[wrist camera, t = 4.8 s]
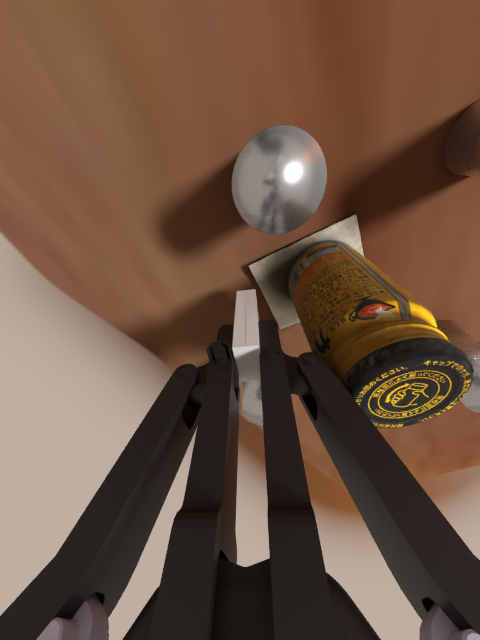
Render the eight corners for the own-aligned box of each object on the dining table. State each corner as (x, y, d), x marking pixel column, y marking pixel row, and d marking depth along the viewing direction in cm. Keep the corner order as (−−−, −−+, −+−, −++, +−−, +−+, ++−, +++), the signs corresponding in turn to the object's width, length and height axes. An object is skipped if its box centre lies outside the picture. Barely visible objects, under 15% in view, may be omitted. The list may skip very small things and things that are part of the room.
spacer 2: (233, 144, 15) (223, 136, 9) (297, 132, 14) (329, 114, 9) (242, 212, 17) (239, 239, 11) (298, 203, 17) (324, 227, 11)
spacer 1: (241, 340, 24) (238, 398, 18) (280, 336, 24) (290, 394, 18) (246, 367, 26) (245, 426, 20) (282, 364, 26) (291, 424, 20)
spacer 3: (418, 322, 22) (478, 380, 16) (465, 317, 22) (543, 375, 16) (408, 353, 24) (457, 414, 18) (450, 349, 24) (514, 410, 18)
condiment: (370, 293, 20) (492, 419, 11) (280, 328, 23) (313, 460, 13) (354, 213, 17) (521, 294, 7) (248, 263, 19) (259, 381, 9)
